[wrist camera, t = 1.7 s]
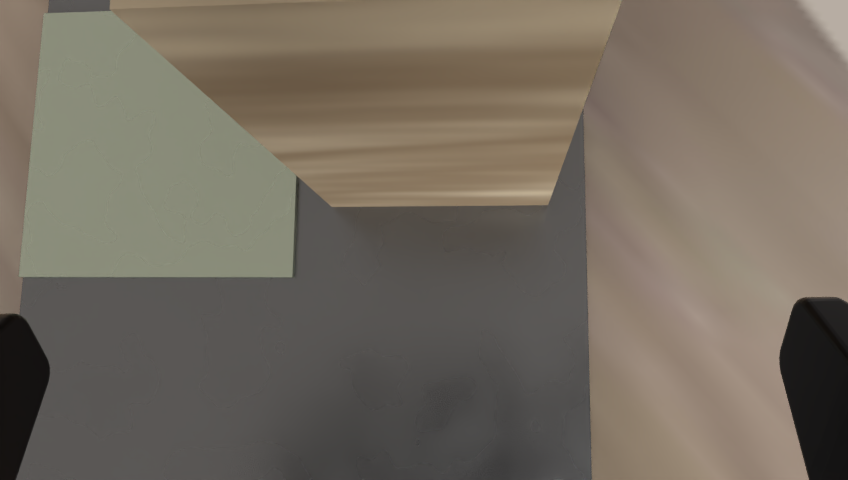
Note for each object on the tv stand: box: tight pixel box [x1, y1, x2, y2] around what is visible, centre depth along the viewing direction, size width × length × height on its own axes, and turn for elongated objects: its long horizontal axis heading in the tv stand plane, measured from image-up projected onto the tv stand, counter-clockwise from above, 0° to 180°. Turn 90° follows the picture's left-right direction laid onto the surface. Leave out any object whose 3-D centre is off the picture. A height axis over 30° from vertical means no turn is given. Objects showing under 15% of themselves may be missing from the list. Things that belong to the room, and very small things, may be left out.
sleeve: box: [110, 0, 622, 207], centre depth 15 cm, size 6×6×12 cm
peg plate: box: [16, 0, 592, 480], centre depth 19 cm, size 17×16×6 cm
